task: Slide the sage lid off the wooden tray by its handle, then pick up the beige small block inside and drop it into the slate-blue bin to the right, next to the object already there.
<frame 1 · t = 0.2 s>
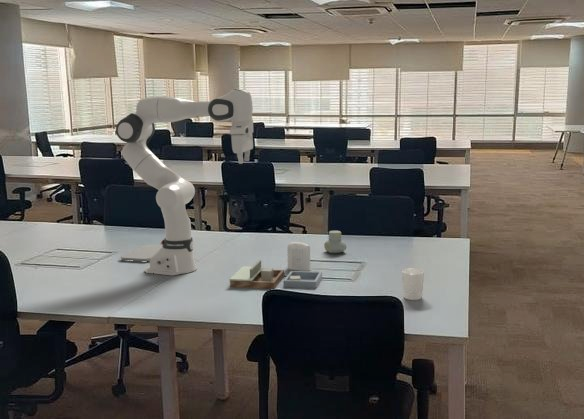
hand: (244, 162, 266), 47 cm above the table, tool pointing down, fingers open, 8 cm apart
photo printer: (299, 270, 276), on the table
lid: (246, 269, 260), point 5 cm above the table, slide at 0.0 cm
wooden tray: (258, 282, 260), on the table
air freshener: (335, 252, 306), on the table
tablet: (147, 256, 309), on the table
white cup: (412, 297, 236), on the table
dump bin: (303, 283, 257), on the table
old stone: (295, 284, 254), resting on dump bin
beige small block: (267, 281, 259), resting on wooden tray
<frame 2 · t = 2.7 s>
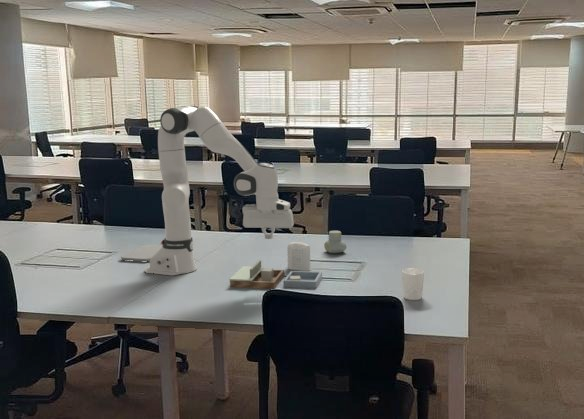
hand: (268, 238, 255), 18 cm above the table, tool pointing down, fingers closed
nothing on the table moved.
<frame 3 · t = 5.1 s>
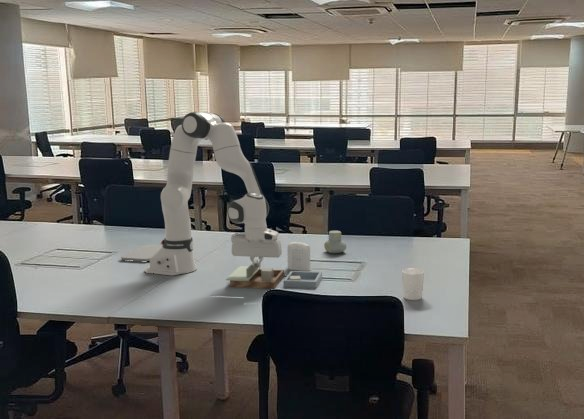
hand: (257, 267, 259), 6 cm above the table, tool pointing down, fingers closed
lid: (243, 269, 260), point 5 cm above the table, slide at 1.4 cm, touching gripper
everything else where it was.
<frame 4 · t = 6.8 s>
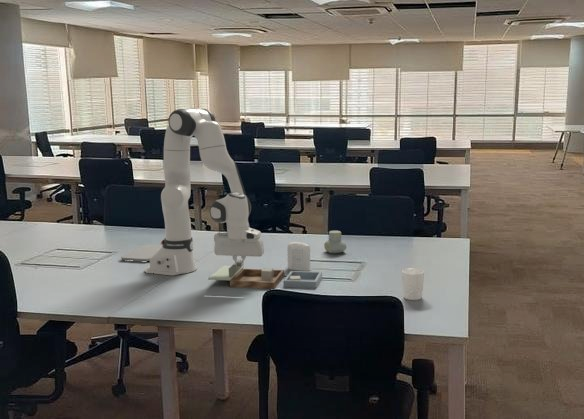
hand: (239, 266, 260), 7 cm above the table, tool pointing down, fingers closed
lid: (226, 268, 261), point 5 cm above the table, slide at 8.7 cm, touching gripper
everything else where it was.
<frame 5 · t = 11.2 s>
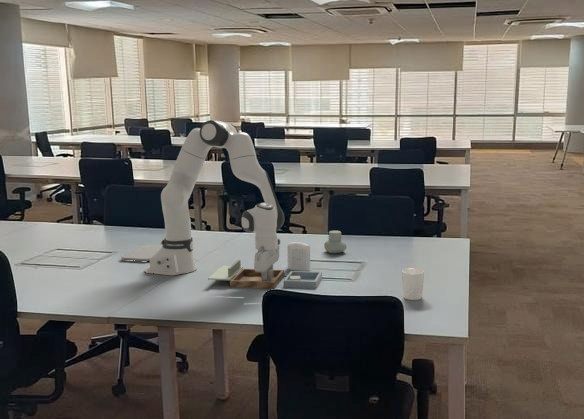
hand: (267, 277, 258), 2 cm above the table, tool pointing down, fingers closed on beige small block, 4 cm apart
lid: (225, 268, 262), point 5 cm above the table, slide at 9.0 cm
beige small block: (267, 281, 259), resting on wooden tray, touching gripper
everything else where it was.
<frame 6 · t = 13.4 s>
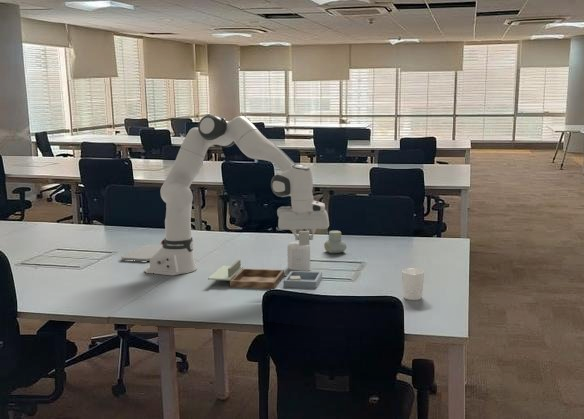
hand: (304, 239, 256), 17 cm above the table, tool pointing down, fingers closed on beige small block, 4 cm apart
beige small block: (304, 244, 256), point 16 cm above the table, touching gripper
everything else where it was.
when the fingers open (5 cm above the table, at t = 16.0 s): beige small block drops 3 cm, resting on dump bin.
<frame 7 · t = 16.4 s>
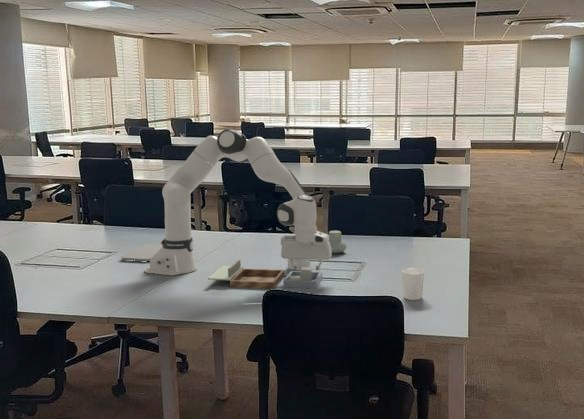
hand: (306, 269, 258), 5 cm above the table, tool pointing down, fingers open, 8 cm apart
beige small block: (306, 280, 259), resting on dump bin
everything else where it was.
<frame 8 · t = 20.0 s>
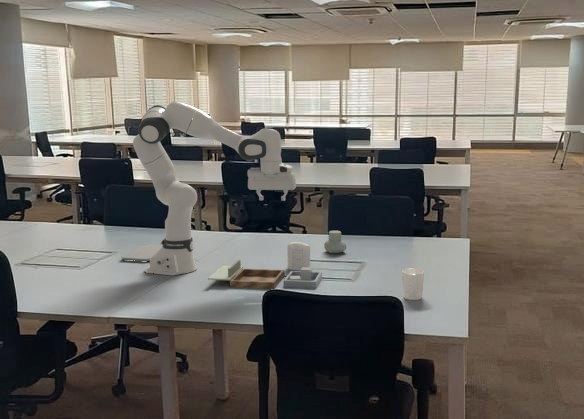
hand: (272, 200, 269), 31 cm above the table, tool pointing down, fingers open, 8 cm apart
nothing on the table moved.
at the end: beige small block inside the target area on the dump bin (2.6 cm from its centre), point 0.5 cm above the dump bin's base; lid slide at 9.0 cm; the gripper is holding nothing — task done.
